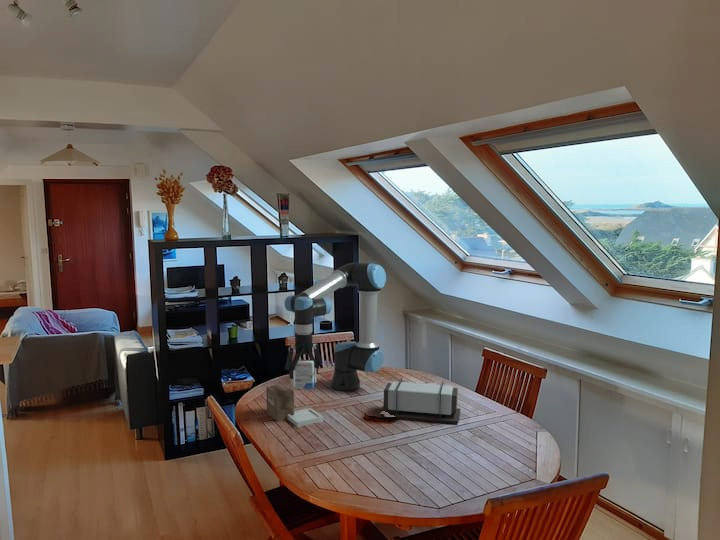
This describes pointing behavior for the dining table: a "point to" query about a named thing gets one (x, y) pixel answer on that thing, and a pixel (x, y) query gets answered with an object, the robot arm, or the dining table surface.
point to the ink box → (304, 374)
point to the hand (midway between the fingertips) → (303, 383)
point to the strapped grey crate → (421, 402)
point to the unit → (280, 401)
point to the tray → (305, 417)
